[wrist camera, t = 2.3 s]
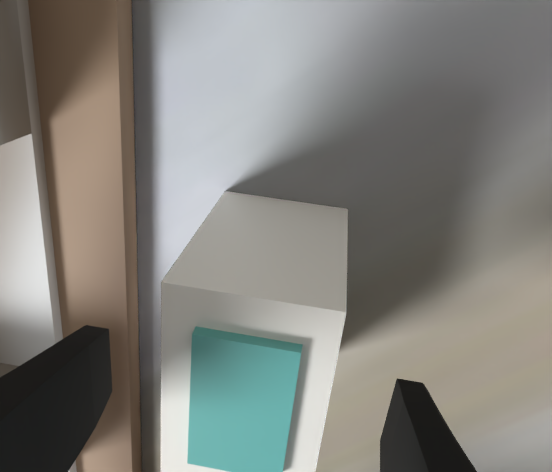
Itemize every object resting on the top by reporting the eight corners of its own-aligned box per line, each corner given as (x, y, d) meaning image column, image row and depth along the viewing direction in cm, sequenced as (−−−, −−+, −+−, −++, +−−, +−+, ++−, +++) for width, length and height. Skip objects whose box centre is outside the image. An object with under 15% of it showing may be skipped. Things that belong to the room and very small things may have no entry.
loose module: (348, 208, 16) (346, 320, 10) (321, 357, 18) (308, 514, 13) (225, 190, 16) (156, 289, 10) (216, 339, 19) (156, 484, 13)
